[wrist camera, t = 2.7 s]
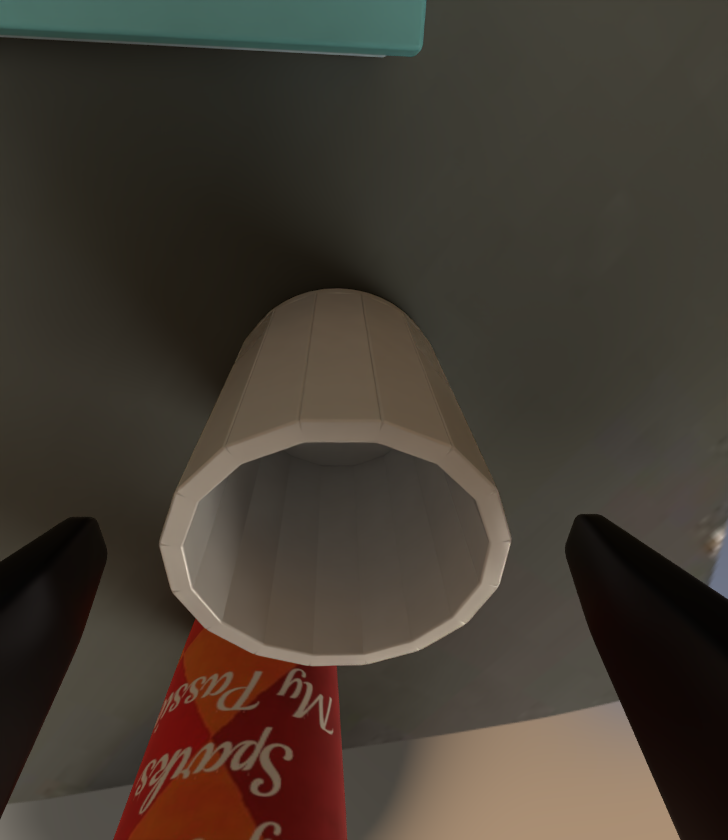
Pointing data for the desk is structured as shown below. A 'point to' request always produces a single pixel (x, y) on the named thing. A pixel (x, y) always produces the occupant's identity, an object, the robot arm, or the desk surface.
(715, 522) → the desk surface
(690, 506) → the desk surface
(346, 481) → the beige cup
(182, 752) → the paper cup
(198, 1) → the teal flat box
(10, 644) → the robot arm
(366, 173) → the desk surface
